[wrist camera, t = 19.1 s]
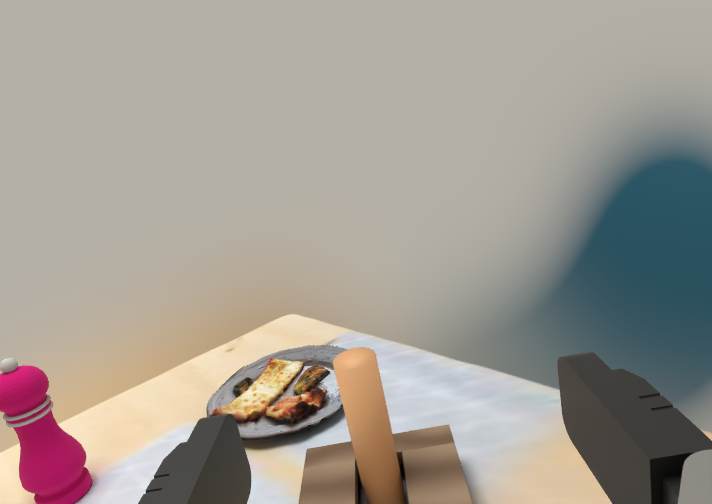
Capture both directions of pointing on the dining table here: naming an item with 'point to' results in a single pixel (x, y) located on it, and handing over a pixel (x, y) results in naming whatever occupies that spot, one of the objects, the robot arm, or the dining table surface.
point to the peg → (369, 428)
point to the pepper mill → (41, 438)
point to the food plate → (279, 393)
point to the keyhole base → (416, 461)
